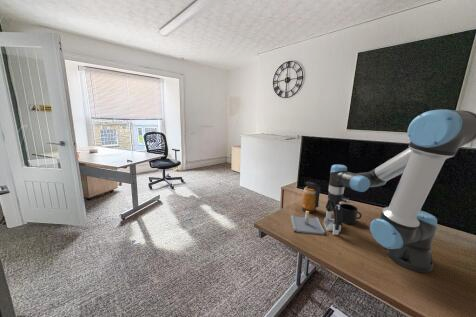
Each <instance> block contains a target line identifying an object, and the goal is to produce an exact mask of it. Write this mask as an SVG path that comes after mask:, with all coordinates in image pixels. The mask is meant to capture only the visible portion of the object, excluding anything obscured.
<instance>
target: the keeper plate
mask: <svg viewBox="0 0 476 317" xmlns="http://www.w3.org/2000/svg"><path fill="white" fill-rule="evenodd" d="M290 220H291V225H293V226H292V230H294V231H296V232H295V233H299V232H301V234H312V235H321V236H325V234H326V231H325V229H324V228H323V226H322V224H321V221H320V219H319V217H318V216H315V217H310V212H309V211H305V214H304V216H294V215H293V214H290ZM294 231H293V232H294Z"/></svg>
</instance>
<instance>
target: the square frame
mask: <svg viewBox="0 0 476 317" xmlns="http://www.w3.org/2000/svg"><path fill="white" fill-rule="evenodd" d="M333 223H335V220H334V218H332V217H331V218H326V217H324V218H323V225H324V227H325V230H326V231H327V232H333V226H334V224H333ZM341 230H342V225H340V226H339V233H341Z"/></svg>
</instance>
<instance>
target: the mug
mask: <svg viewBox="0 0 476 317" xmlns="http://www.w3.org/2000/svg"><path fill="white" fill-rule="evenodd" d="M339 205H340V206H341V216H342V224H346V225H355V224H356V223H357V220H359V219H361V218H362V216H363V215H362V213H361V212H360V211H359V210H358V207H356V206H354V205H353V204H349V203H341V204H339ZM358 214H359V217H357V216H358Z"/></svg>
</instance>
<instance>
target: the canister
mask: <svg viewBox="0 0 476 317" xmlns="http://www.w3.org/2000/svg"><path fill="white" fill-rule="evenodd" d="M304 184H305V185H306V186H305V187H304V189H303V191H302V198H301V199H302V200H301V210H302V211H304V212H306V211H309V213H315V212H316V208H318V207H320V206H319V201H320V193H321V190H322V187H321V186H320V185H319V184H318V183H317V182H312V181H306V182H304Z"/></svg>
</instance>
